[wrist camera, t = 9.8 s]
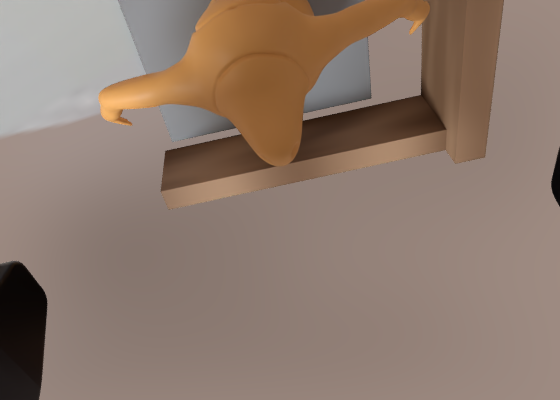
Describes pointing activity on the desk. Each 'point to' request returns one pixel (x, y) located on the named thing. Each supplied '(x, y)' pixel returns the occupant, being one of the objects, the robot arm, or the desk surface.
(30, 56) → the desk surface
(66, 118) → the desk surface
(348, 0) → the notched stand
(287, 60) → the figurine
